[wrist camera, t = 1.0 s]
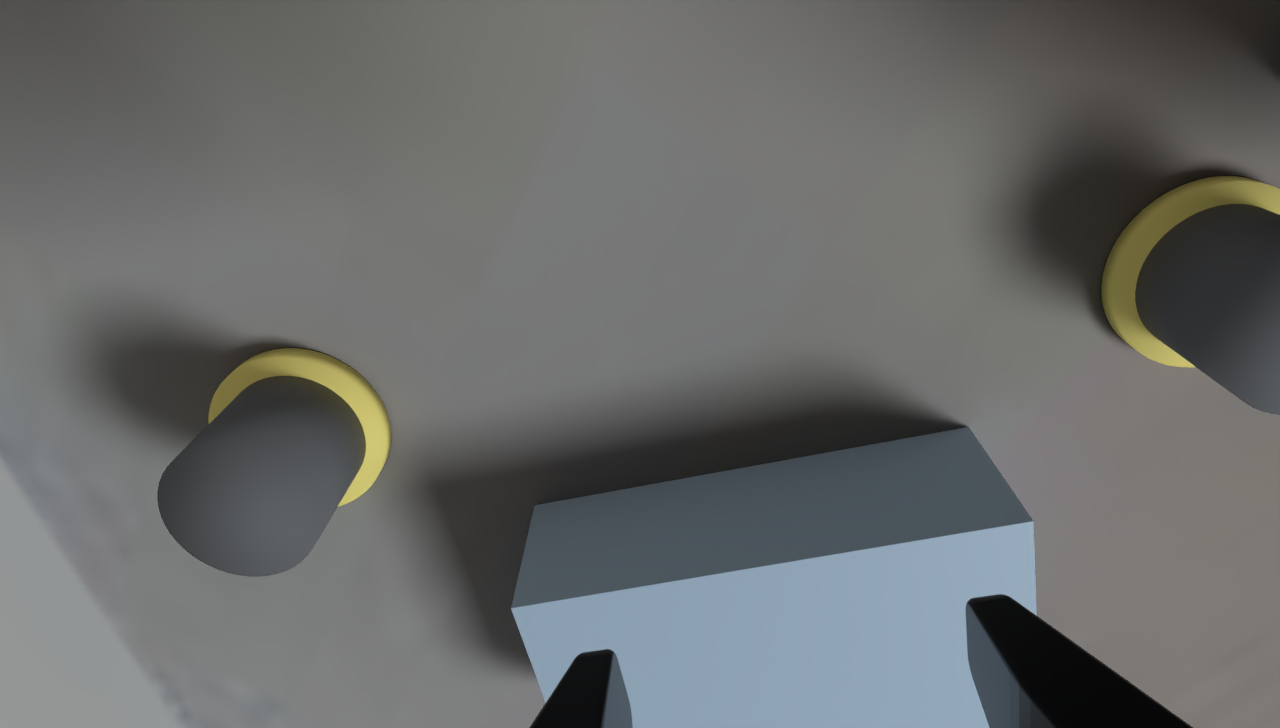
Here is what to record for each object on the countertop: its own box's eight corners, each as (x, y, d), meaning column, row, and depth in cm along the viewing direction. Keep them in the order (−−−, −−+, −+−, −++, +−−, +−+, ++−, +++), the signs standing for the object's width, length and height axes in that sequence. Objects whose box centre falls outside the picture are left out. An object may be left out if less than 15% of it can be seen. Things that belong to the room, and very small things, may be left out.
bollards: (1313, 158, 19) (1466, 201, 15) (1288, 340, 21) (1419, 416, 17) (191, 364, 22) (98, 442, 18) (258, 509, 24) (187, 605, 20)
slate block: (964, 422, 22) (1033, 521, 18) (979, 620, 25) (1040, 743, 21) (535, 499, 24) (511, 608, 20) (595, 679, 27) (584, 806, 23)
